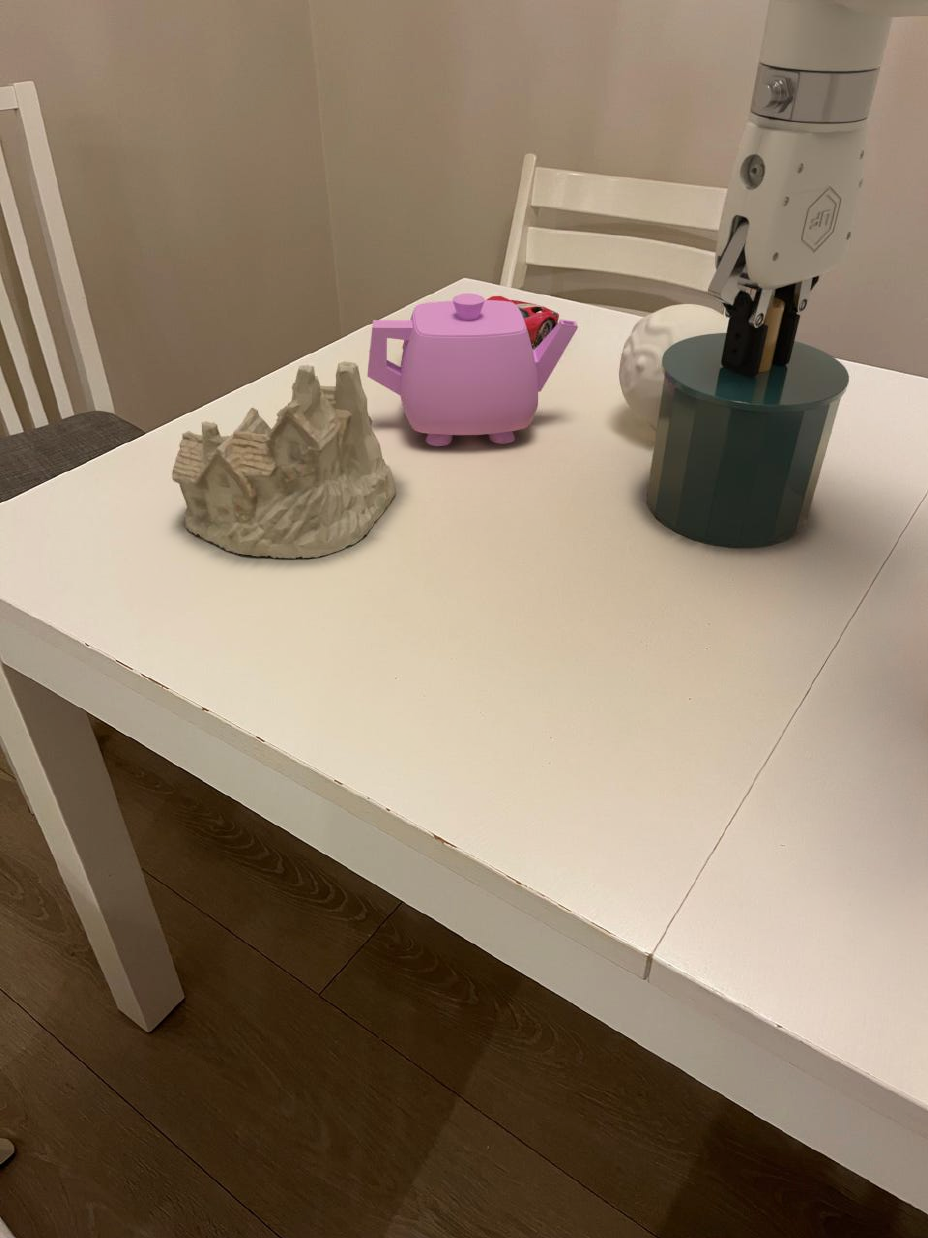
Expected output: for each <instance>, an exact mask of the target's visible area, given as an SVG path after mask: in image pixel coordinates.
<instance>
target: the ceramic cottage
mask: <svg viewBox="0 0 928 1238" xmlns="http://www.w3.org/2000/svg"><path fill="white" fill-rule="evenodd" d="M291 390H292V392H291V393H292V395H291V400H290V402H288V403H287V405H286V406H284V407H283V408H281V409H280V410H279V411H278V412H277V413H276V416H277V418H276V419H275V420H276V422H275V424H274V425H273V427H272V428H271V427H270V425H269V424H268V423H267V422H266V421H265V420H264V419H263V418H262V417H261V416H260V412H259V409H256V408H254V407H251V408H250V409H249V410H248V412H247V413H246V415H245V417H244V418H243V420H242V422H241V423H240V424H239V425H238V427H237V428H236V429H235V430H234V431H233V432H232V434H231V435H224V436H222V435H221V433H220V431H219V428H218V424H217V423H215V422H214V421H213V422H209V421H207V420H205V421H201V434H197V433H194V432H192V431H190V430H187V431H185V432H184V433H182V434H181V437H182V438H181V440H180V442H179V444H178V445H179V450H178V451H177V454H176V456H175V458H174V460H175V461H174V464H173V468H172V472H171V479H172V481H173V482H174V483H177V484H178V485H179V488H180V492H181V494H182V496H183V499H184V500H185V501H184V502H185V504H186V505H185V506H186V507H187V508H186V510H185V512H184V520H185V521H184V522H185V523H184V524H185V529H187V531H188V532H190V533H193V534H194V535H195V536H198V535H199V537H200V538H202V539H203V540H204V541H208V542H211V543H212V544H213V545H214V544H215V545H216V546H217V545H218V546H219V548H221V549H222V548H224V550H225V551H226V552H227V551H228V552H232V553H233V554H237V555H239V554H240V555H245V556H250V555H251V557H257V558H259V557H268V556H269V557H270V558H273V559H276V558H278V559H280V560H281V559H295V560H296V558H300V557H301V558H302V559H309V558H316V559H318V558H320V557H321V556H328V555H330V554H333V553H336V552H340V551H342V550H344V549H346V548H347V547H349V546H352V545H353V546H354V545H355V544H357V543H358V542H359V541H361V540H362V539H363V538H364V536H365V535H367V534H368V533H369V531H370V530H371V529H372V528H373V527H374V524H375V522H377V521H378V519H380V517H382V514H384V512H385V510H386V509H387V508H388V507H389V505H390V504H391V503H392V502H393V499H394V498H395V496H396V494H397V487H396V484H395V478H394V475H393V471H392V469H391V467H390V465H388V464H386V461H385V460H384V459H383V453H382V449H381V444H380V442H379V440H378V438H377V435H376V434H375V432H374V431H373V428H372V425H373V422H374V420H372V417H371V416H370V415H369V411H368V397H367V395H366V393H365V391H364V388H363V384H362V379H361V374H360V370H359V365H358V364H357V363H356V362H350V361H342V362H338V364H337V367H336V373H335V386H334V385H320V380H319V376H318V375H316V373H315V366H314V365H308V364H303V365H299V366H298V369H297V371H296V376H295V381H294V382H293V383H292V385H291Z"/></svg>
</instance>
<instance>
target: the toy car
mask: <svg viewBox="0 0 928 1238" xmlns="http://www.w3.org/2000/svg"><path fill="white" fill-rule="evenodd" d="M485 300H497V301H508V302H513V303H514V304H515V305H517V307H518V308H519V310H520V311H521V314H522V316H523V319H524V322H525V324H526V327H527V330H528V334H529V338H530V341H531V345H535V346H536V347H538V346H539V344H540V343H541V342H542V341H543V340H544V339H545V338H546V336H547V335H548V334H549V333H550V332H551V331H552V330H553V328H554V327H555V326H556V325H557V324H558V323H559V320H560V313H558V312H557V311H554V310H552V309H550V308H548V307H546V306H543V305H539V304H536V303H532V302H526V301H522V300H517V299H516V300H515V299H509V298H507V297H504V296H502V295H492V296H489V297H488V298H487V299H485ZM537 338H538V343H536V340H537ZM404 343H405V340H403V343H402V347H401V348H402V349H403V348H404ZM535 343H536V344H535Z"/></svg>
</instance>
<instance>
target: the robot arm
mask: <svg viewBox="0 0 928 1238" xmlns="http://www.w3.org/2000/svg"><path fill="white" fill-rule="evenodd" d="M906 17H928V0H768V6H767V11H766V17H765V24H764V28H763V35H762V41H761V45H760V52H759V57H758V63H757V68H756V74H755V80H754V84H753V85H754V86H753V92H752V97H751V102H750V107H749V108H750V109H749V114H748V121H749V122H747V123H746V124H745V128H744V129H743V130H744V131H743V133H742V137H741V139H740V142H739V146H738V148H737V149H738V150H737V153H736V156H735V159H734V163H733V167H732V169H731V174H730V178H729V181H728V186H727V189H726V194H725V197H724V202H723V207H722V210H721V211H722V212H721V217H720V222H719V227H718V232H717V238H716V245H715V256H714V268H715V273H714V275H713V276H712V279H711V281H710V283H709V285H708V288H707V294H708V295H709V296H710V297H712V298H713V299H716V300H717V301H719V302H721V304H722V306H723V307H724V316H725V317H726V318H727V319H728V320H729V322H728V327H727V333H726V338H725V343H724V348H723V354H722V359H721V364H722V366H723V367H725V368H727V369H729V370H732V371H734V372H737V373H739V374H741V375H744V376H746V377H749V378H752V377H754V376H757V375H758V372H759V368H760V363H761V359H762V354H763V349H764V345H765V340H766V335H767V331H768V326H767V325H764V324H762V323H763V322H764V319H765V315H766V312H767V308H768V304H769V301H770V297H774V298H778V299H780V300H782V301H784V302H785V308H784V312H783V317H782V321H781V326H780V330H779V335H778V339H777V343H776V348H775V352H774V357H773V361H772V363H775V364H777V365H780V366H784V365H786V364H788V363H789V361H790V357H791V353H792V349H793V345H794V341H796V336H797V332H798V328H799V323H800V319H801V314H802V313H804V312H805V310H806V309H807V307H808V305H809V299H810V293H811V291H812V290H813V289H814V287H816V285H817V283H818V282H819V279H820V278H821V277H822V276H823V275H824V274H827V273H830V272H832V271H833V270H836V269H837V268H838V267H840V265H842V264H843V263H844V261H845V260H846V258H847V254H848V252H849V247H850V243H851V240H852V235H853V231H854V226H855V222H856V217H857V213H858V208H859V202H860V197H861V191H862V187H863V182H864V181H863V180H864V176H865V171H866V170H865V169H866V162H867V156H868V147H869V146H868V145H869V137H870V136H869V135H870V134H869V133H870V119H869V115H870V111H871V107H872V102H873V97H874V94H875V90H876V86H877V83H878V78H879V75H880V70H881V66H882V62H883V59H884V55H885V50H886V47H887V43H888V38H889V35H890V31H891V27H892V22H893V19H894V18H906ZM747 288H749V289H752V290H755V293H754V296H753V297H751V295H750V293H749V292H747ZM752 298H754V301H753V300H752Z"/></svg>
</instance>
